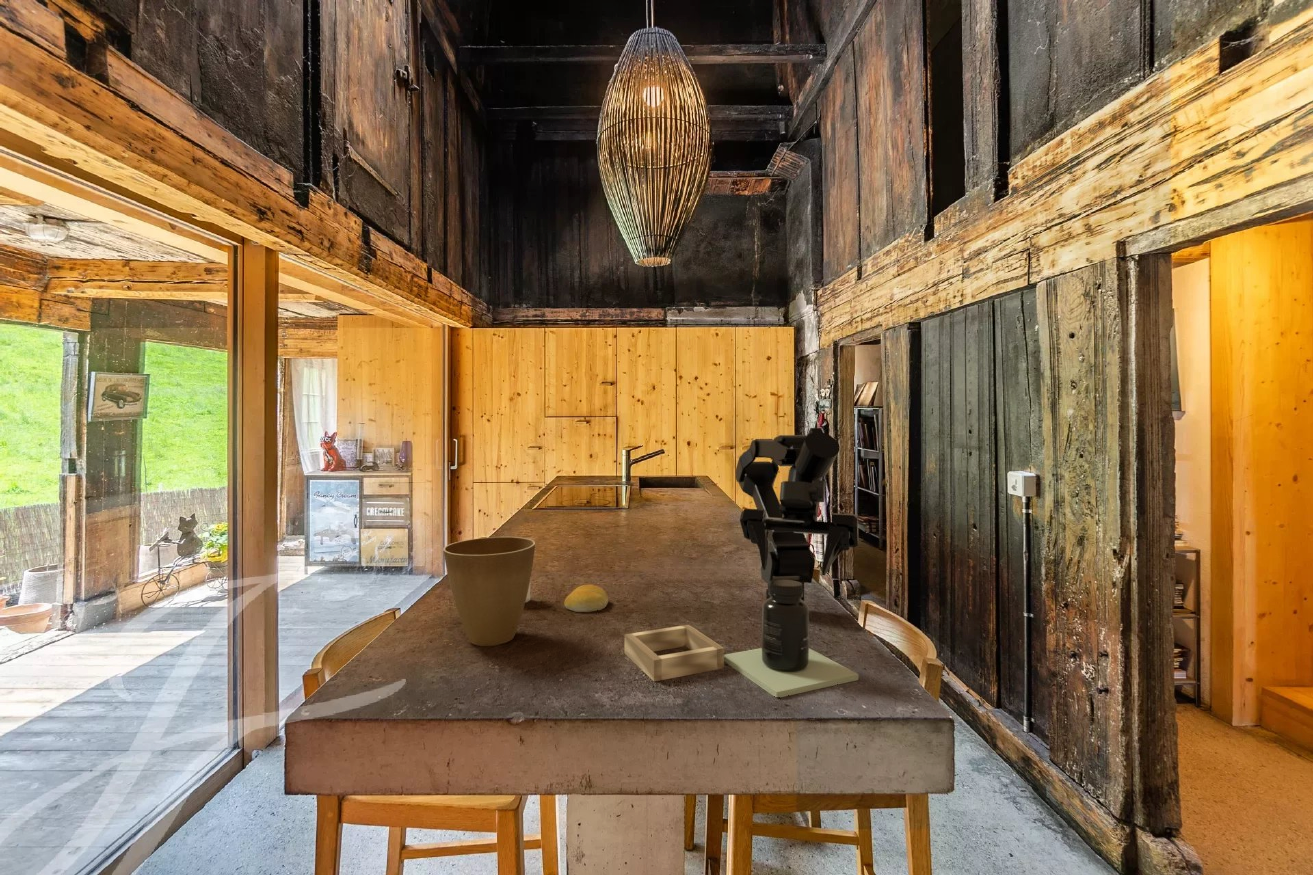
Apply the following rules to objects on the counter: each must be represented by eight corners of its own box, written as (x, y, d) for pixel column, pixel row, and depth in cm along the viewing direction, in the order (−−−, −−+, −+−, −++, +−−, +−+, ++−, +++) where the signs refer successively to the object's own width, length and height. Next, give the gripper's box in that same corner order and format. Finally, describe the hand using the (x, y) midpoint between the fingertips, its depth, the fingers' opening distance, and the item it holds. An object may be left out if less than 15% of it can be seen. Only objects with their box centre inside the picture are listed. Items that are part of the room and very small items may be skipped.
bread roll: (559, 612, 115) (559, 592, 115) (574, 599, 124) (574, 580, 124) (601, 615, 114) (601, 594, 114) (612, 601, 123) (612, 582, 123)
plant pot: (496, 618, 111) (496, 533, 111) (553, 635, 102) (553, 542, 102) (425, 642, 99) (424, 546, 99) (483, 663, 90) (482, 557, 90)
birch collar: (688, 642, 99) (688, 624, 99) (724, 668, 88) (724, 647, 88) (624, 653, 94) (624, 634, 94) (653, 681, 84) (653, 660, 84)
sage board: (796, 646, 97) (796, 641, 97) (858, 679, 84) (858, 674, 84) (722, 660, 91) (722, 654, 91) (776, 698, 79) (776, 692, 79)
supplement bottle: (816, 671, 85) (817, 588, 85) (770, 674, 84) (771, 589, 84) (798, 653, 92) (798, 576, 92) (755, 655, 91) (756, 577, 91)
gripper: (742, 461, 101) (725, 537, 91) (858, 464, 95) (854, 546, 85) (752, 501, 109) (737, 576, 99) (859, 507, 102) (856, 587, 92)
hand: (792, 571), depth 93 cm, fingers open, 9 cm apart
